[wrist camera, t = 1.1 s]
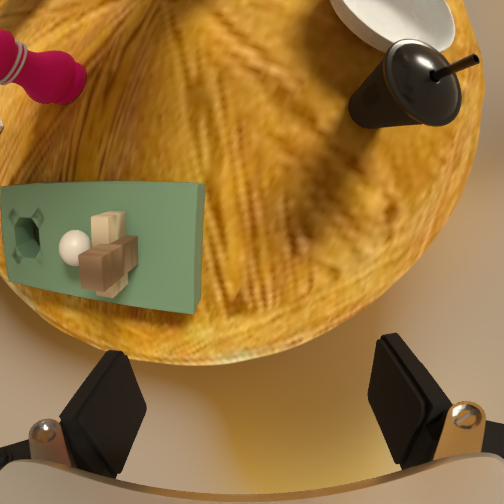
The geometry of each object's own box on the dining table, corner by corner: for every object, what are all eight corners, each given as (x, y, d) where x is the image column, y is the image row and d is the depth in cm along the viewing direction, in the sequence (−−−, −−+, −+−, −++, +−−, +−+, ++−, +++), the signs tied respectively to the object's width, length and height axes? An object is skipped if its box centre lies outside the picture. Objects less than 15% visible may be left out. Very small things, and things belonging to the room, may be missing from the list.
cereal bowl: (434, 86, 27) (464, 74, 21) (318, 53, 27) (332, 28, 20) (422, -3, 23) (443, -22, 16) (318, -35, 23) (327, -63, 16)
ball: (70, 225, 28) (50, 232, 25) (97, 227, 29) (78, 235, 25) (72, 258, 30) (54, 268, 26) (99, 261, 30) (81, 273, 26)
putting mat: (19, 183, 31) (0, 186, 27) (205, 183, 32) (197, 184, 27) (26, 271, 35) (8, 281, 31) (200, 297, 35) (193, 314, 31)
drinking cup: (377, 153, 30) (497, 142, 11) (325, 114, 29) (410, 48, 10) (404, 107, 29) (519, 70, 9) (355, 69, 28) (444, -11, 8)
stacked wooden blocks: (109, 210, 28) (67, 224, 20) (137, 212, 28) (99, 226, 20) (112, 281, 30) (76, 312, 22) (139, 285, 30) (107, 318, 22)
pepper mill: (99, 72, 28) (-5, 21, 8) (68, 116, 29) (-46, 98, 10) (71, 54, 26) (-23, 10, 7) (44, 95, 28) (-59, 75, 9)
